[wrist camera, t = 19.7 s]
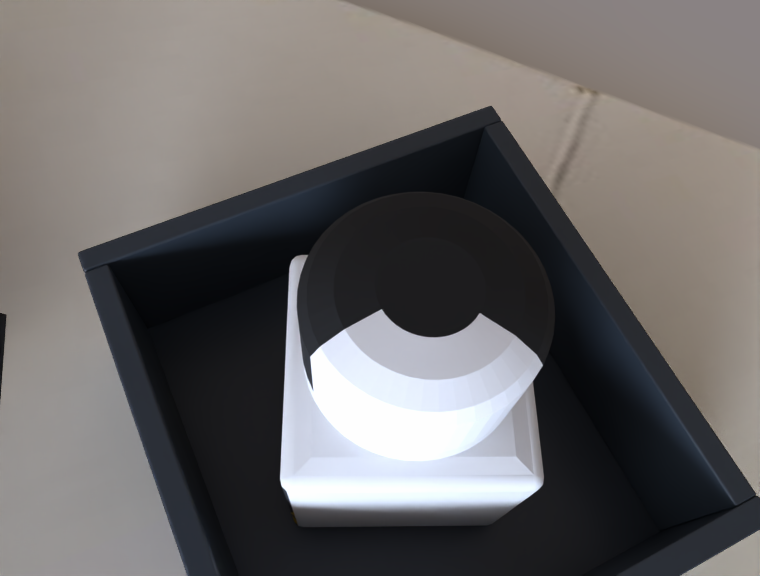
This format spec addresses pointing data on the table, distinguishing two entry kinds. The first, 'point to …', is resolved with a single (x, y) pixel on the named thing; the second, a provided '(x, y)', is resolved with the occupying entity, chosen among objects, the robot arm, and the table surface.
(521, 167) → the open box
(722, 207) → the table surface
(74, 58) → the table surface
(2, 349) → the robot arm
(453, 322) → the medicine bottle
